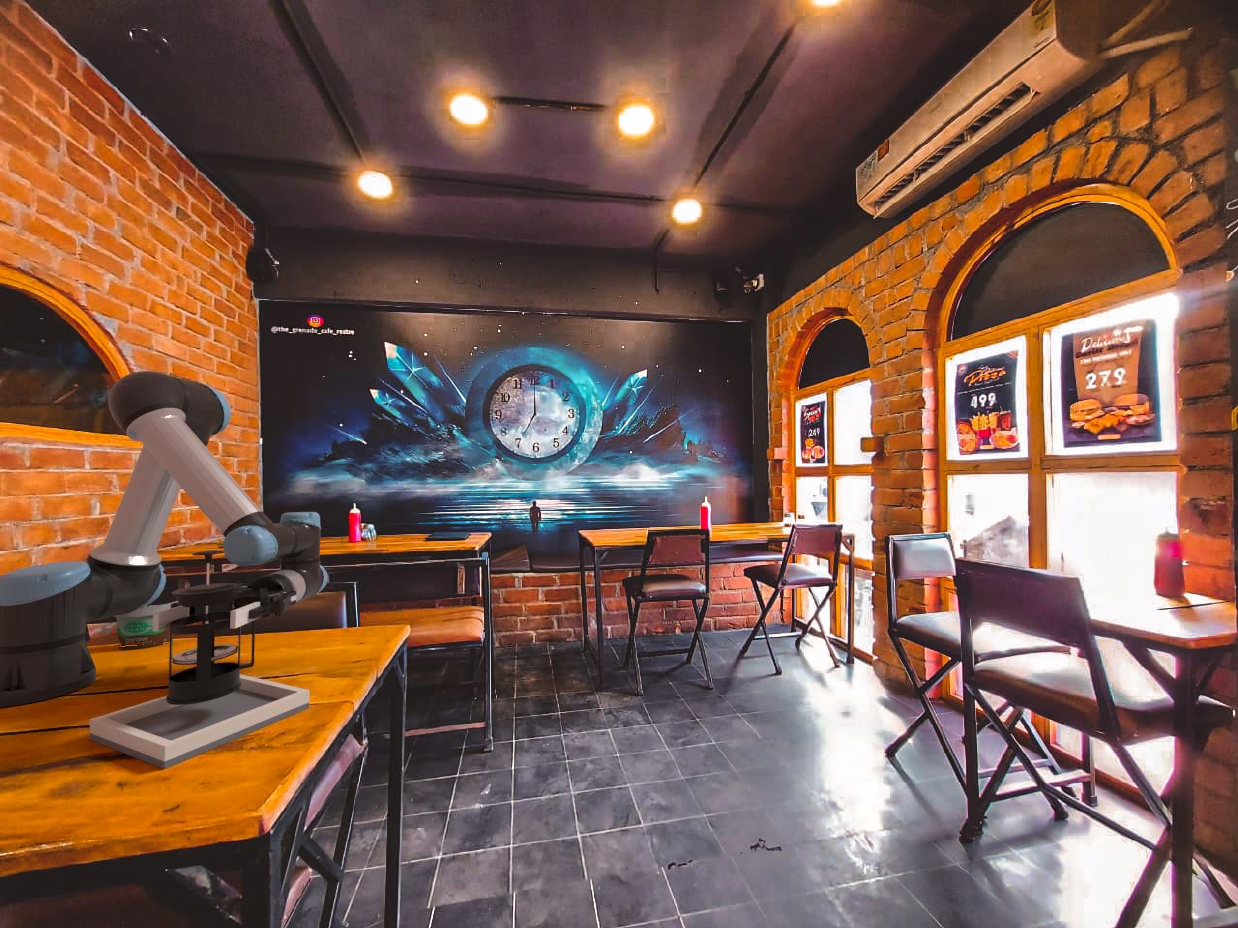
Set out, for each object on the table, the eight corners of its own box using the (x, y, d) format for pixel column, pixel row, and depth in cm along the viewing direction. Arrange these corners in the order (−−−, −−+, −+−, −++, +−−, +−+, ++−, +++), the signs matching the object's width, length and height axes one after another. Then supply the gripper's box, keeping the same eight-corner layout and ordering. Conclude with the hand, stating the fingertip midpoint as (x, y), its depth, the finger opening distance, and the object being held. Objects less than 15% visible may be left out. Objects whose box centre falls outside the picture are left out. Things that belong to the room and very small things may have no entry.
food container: (102, 655, 113) (105, 611, 114) (111, 648, 118) (113, 605, 119) (174, 645, 120) (176, 604, 120) (179, 639, 125) (181, 599, 125)
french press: (155, 712, 73) (160, 557, 74) (164, 691, 81) (168, 551, 82) (253, 691, 80) (256, 550, 81) (253, 674, 88) (256, 545, 89)
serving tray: (89, 739, 75) (90, 719, 75) (236, 689, 94) (237, 673, 94) (164, 769, 67) (165, 746, 67) (309, 707, 86) (309, 690, 86)
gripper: (334, 608, 100) (272, 642, 78) (212, 613, 98) (112, 648, 76) (335, 571, 101) (274, 594, 79) (213, 574, 98) (114, 599, 76)
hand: (194, 621), depth 77 cm, fingers closed on french press, 10 cm apart
